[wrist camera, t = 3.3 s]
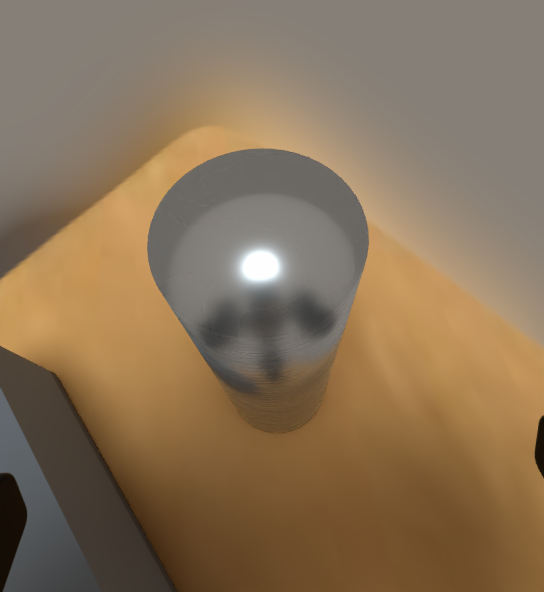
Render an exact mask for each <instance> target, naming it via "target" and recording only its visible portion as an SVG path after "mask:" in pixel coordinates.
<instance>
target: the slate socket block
mask: <svg viewBox="0 0 544 592" xmlns="http://www.w3.org/2000/svg"><path fill="white" fill-rule="evenodd" d="M4 472H7V473H11V474H12V475H13V476H14V477H15V479H16V482H17V484H18V487H19V489H20V492H21V494H22V497H23V499H24V502H25V504H26V507H27V522H26V526H25V529H24V532H23V535H22V538H21V541H20V544H19V546H18V549H17V552H16V555H15V558H14V561H13V564H12V567H11V570H10V573H9V576H8V578H7V581H6V584H5V587H4V590H3V592H177V590H176V588H175V587H174V585H173V583H172V581H171V579H170V578H169V576H168V574H167V572H166V570H165V569H164V567H163V565H162V563H161V562H160V560H159V558H158V556H157V554H156V553H155V551H154V549H153V547H152V546H151V544H150V542H149V540H148V538H147V537H146V535H145V533H144V531H143V529H142V528H141V526H140V524H139V522H138V521H137V519H136V517H135V515H134V513H133V512H132V510H131V508H130V506H129V504H128V503H127V501H126V499H125V497H124V496H123V494H122V492H121V490H120V488H119V487H118V485H117V483H116V481H115V479H114V478H113V476H112V474H111V472H110V471H109V469H108V467H107V465H106V463H105V462H104V460H103V458H102V456H101V455H100V453H99V451H98V449H97V447H96V446H95V444H94V442H93V440H92V438H91V437H90V435H89V433H88V431H87V430H86V428H85V426H84V424H83V422H82V421H81V419H80V417H79V415H78V413H77V412H76V410H75V408H74V406H73V405H72V403H71V401H70V399H69V397H68V396H67V394H66V392H65V390H64V388H63V387H62V385H61V383H60V381H59V380H58V378H57V376H56V374H54V373H52V372H50V371H49V370H47V369H45V368H43V367H41V366H39V365H37V364H35V363H33V362H31V361H29V360H27V359H25V358H23V357H21V356H19V355H17V354H15V353H13V352H11V351H9V350H7V349H5V348H3V347H1V346H0V473H4Z"/></svg>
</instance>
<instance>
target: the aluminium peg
mask: <svg viewBox="0 0 544 592" xmlns="http://www.w3.org/2000/svg"><path fill="white" fill-rule="evenodd" d="M368 244H369V239H368V227H367V222H366V217H365V215H364V212H363V209H362V206H361V204H360V203H359V201H358V199H357V197H356V195H355V194H354V193H353V191H352V190H351V188H350V187H349V186H348V185H347V184H346V183H345V182H344V181H343V180H342V178H341V177H339V176H338V175H337V174H336V173H334V172H333V171H332V170H331V169H329V168H328V167H326V166H324V165H323V164H321V163H319V162H317V161H315V160H313V159H311V158H309V157H306V156H303V155H300V154H297V153H293V152H289V151H284V150H276V149H248V150H241V151H236V152H231V153H228V154H224V155H221V156H218V157H216V158H213V159H211V160H208V161H206V162H204V163H203V164H201V165H199V166H197V167H195V168H194V169H192V170H191V171H190V172H188V173H187V174H185V175H184V176H183V177H182V178H181V179H180V180H178V181H177V182H176V183H175V184H174V185H173V186H172V188H171V189H170V190H169V191H168V192H167V193H166V195H165V196H164V198H163V199H162V201H161V202H160V204H159V206H158V208H157V210H156V211H155V214H154V216H153V219H152V222H151V225H150V230H149V234H148V246H147V250H148V261H149V265H150V269H151V273H152V275H153V278H154V280H155V282H156V285H157V286H158V288H159V290H160V291H161V293H162V294H163V296H164V298H165V299H166V301H167V302H168V304H169V305H170V307H171V308H172V310H173V311H174V313H175V314H176V316H177V318H178V319H179V321H180V322H181V324H182V325H183V327H184V328H185V330H186V331H187V333H188V335H189V336H190V338H191V339H192V341H193V342H194V344H195V345H196V347H197V348H198V350H199V351H200V353H201V355H202V356H203V358H204V359H205V361H206V362H207V364H208V365H209V367H210V368H211V370H212V372H213V373H214V375H215V376H216V378H217V379H218V381H219V382H220V384H221V385H222V387H223V388H224V390H225V392H226V393H227V395H228V396H229V398H230V399H231V401H232V402H233V404H234V405H235V407H236V409H237V410H238V412H239V413H240V415H241V416H242V417H243V418H244V419H245V420H246V421H247V422H248V423H249V424H251V425H252V426H254V427H256V428H258V429H260V430H263V431H266V432H271V433H284V432H289V431H292V430H295V429H297V428H299V427H301V426H303V425H304V424H305V423H307V422H308V421H309V420H310V419H311V418H312V417H313V416H314V414H315V413H316V412H317V410H318V408H319V406H320V404H321V401H322V398H323V395H324V392H325V389H326V386H327V382H328V379H329V376H330V373H331V370H332V367H333V363H334V360H335V357H336V354H337V351H338V348H339V344H340V341H341V338H342V335H343V332H344V329H345V325H346V322H347V319H348V316H349V313H350V310H351V307H352V303H353V300H354V297H355V294H356V291H357V288H358V284H359V281H360V278H361V275H362V272H363V269H364V265H365V262H366V258H367V252H368Z"/></svg>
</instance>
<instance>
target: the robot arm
mask: <svg viewBox="0 0 544 592" xmlns="http://www.w3.org/2000/svg"><path fill="white" fill-rule="evenodd" d="M535 460H536V464H537V467H538V469H539V471H540V472H541V474H542V476H543V478H544V415H543V416H542V417H541V418H540V420H539V425H538V432H537V439H536V446H535ZM26 522H27V507H26V504H25V502H24V499H23V497H22V494H21V492H20V489H19V487H18V484H17V482H16V479H15V477H14V476H13V475H12V474H11V473H7V472H4V473H0V592H3V590H4V587H5V584H6V581H7V578H8V576H9V573H10V570H11V567H12V564H13V561H14V558H15V555H16V552H17V549H18V546H19V544H20V541H21V538H22V535H23V532H24V529H25V526H26Z"/></svg>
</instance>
